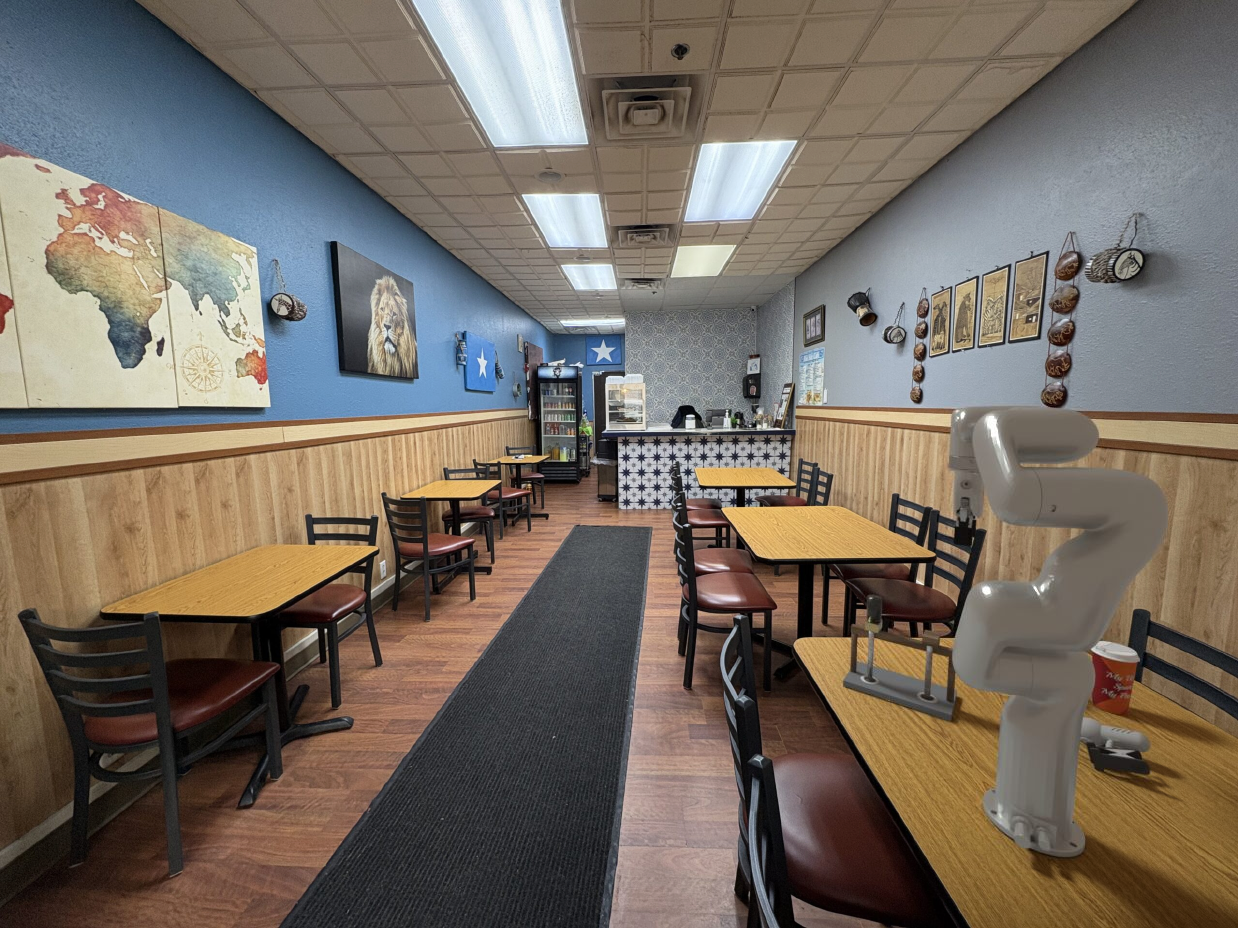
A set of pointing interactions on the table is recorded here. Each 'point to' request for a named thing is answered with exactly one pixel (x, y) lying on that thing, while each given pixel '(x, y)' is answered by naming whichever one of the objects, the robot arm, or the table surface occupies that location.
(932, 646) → the divider frame
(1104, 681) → the paper cup
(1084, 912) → the table surface
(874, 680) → the hole plate
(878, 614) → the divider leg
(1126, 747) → the clip-on lamp
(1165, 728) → the table surface
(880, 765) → the table surface
